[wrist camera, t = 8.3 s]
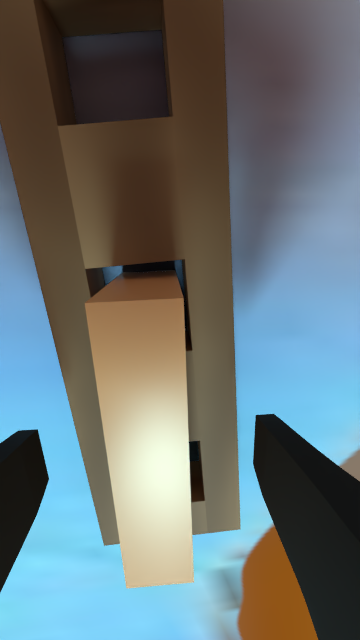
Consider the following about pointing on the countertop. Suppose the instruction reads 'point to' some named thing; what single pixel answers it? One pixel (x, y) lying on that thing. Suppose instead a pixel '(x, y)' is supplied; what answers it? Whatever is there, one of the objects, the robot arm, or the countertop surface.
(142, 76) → the countertop surface
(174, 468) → the tan rectangular block
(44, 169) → the wooden board with holes
